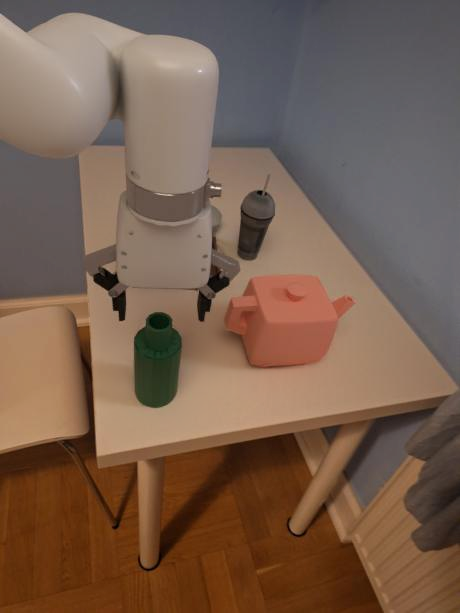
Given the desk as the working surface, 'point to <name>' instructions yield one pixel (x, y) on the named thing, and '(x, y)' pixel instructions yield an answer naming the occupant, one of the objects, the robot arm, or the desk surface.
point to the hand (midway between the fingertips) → (162, 313)
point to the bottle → (157, 361)
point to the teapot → (285, 319)
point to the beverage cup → (254, 222)
